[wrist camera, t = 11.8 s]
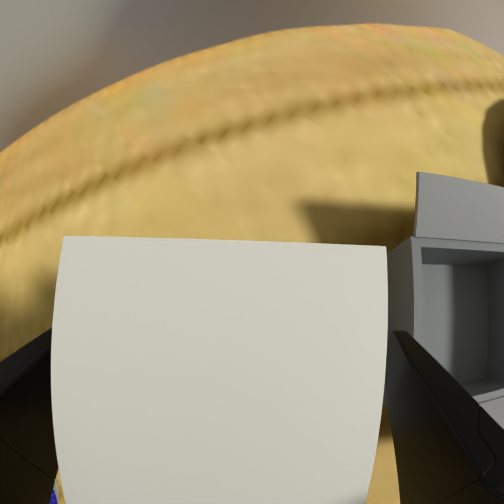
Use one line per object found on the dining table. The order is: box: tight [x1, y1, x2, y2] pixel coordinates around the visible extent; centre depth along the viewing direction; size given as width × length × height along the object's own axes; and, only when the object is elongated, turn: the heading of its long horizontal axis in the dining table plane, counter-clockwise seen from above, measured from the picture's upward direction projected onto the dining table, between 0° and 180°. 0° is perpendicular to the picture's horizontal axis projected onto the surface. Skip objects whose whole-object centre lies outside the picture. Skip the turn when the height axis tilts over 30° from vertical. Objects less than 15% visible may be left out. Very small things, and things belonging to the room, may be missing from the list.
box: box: [51, 236, 388, 504], centre depth 10 cm, size 5×5×12 cm
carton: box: [383, 172, 504, 429], centre depth 13 cm, size 14×8×5 cm, turn 177°
